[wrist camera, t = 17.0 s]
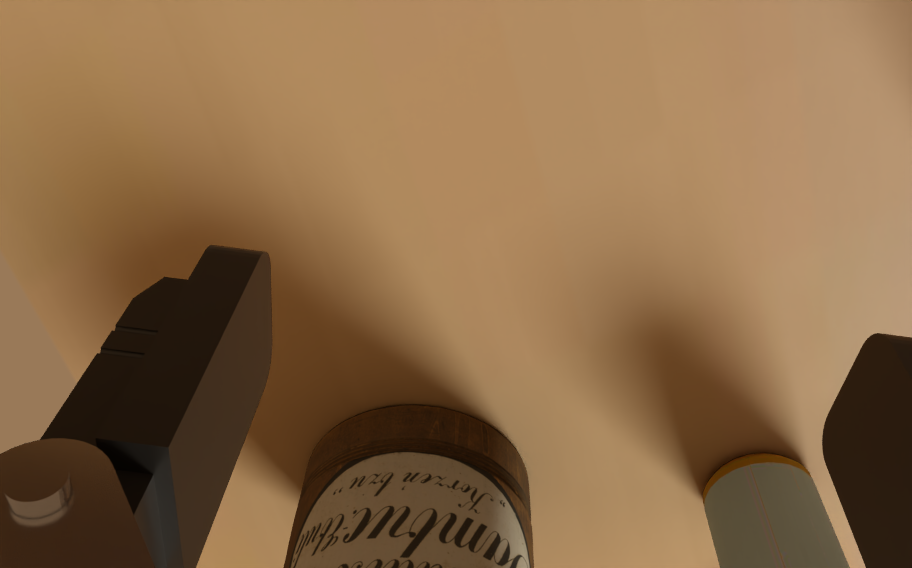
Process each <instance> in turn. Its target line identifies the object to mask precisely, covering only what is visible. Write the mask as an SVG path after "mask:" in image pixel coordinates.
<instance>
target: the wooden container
mask: <svg viewBox="0 0 912 568" xmlns="http://www.w3.org/2000/svg"><path fill="white" fill-rule="evenodd" d="M284 568H534V560H533V538H532V526H531V511H530V495H529V483H528V476H527V471H526V468H525V466H524V463H523V461H522V459H521V457H520V455H519V454H518V452H517V451H516V449H515V448H514V447H513V446H512V445H511V443H510V442H509V441H508V440H507V439H506V438H505V437H503V436H502V435H501V434H500V433H499V432H497V431H496V430H495V429H493V428H492V427H490V426H489V425H487V424H485V423H483V422H481V421H479V420H477V419H475V418H473V417H470V416H468V415H465V414H463V413H460V412H457V411H453V410H448V409H444V408H440V407H431V406H421V405H400V406H393V407H386V408H380V409H376V410H372V411H368V412H365V413H362V414H360V415H357V416H355V417H352V418H350V419H348V420H346V421H344V422H343V423H341V424H339V425H338V426H336V427H335V428H334V429H332V430H331V431H330V432H329V433H328V434H327V435H326V436H325V437H324V438H323V439H322V440H321V441H320V442H319V443H318V445H317V446H316V448H315V449H314V451H313V453H312V455H311V457H310V460H309V463H308V467H307V471H306V474H305V479H304V483H303V487H302V491H301V495H300V500H299V504H298V508H297V511H296V515H295V519H294V523H293V527H292V532H291V536H290V540H289V545H288V550H287V555H286V560H285V564H284Z"/></svg>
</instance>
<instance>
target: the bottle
mask: <svg viewBox="0 0 912 568" xmlns="http://www.w3.org/2000/svg"><path fill="white" fill-rule="evenodd" d="M703 503H704V507H705V513H706V516H707V520H708V524H709V528H710V531H711V535H712V539H713V542H714V546H715V550H716V554H717V557H718V561H719V565H720V568H850V567H849V565H848V563H847V560H846V558H845V555H844V553H843V551H842V548H841V546H840V543H839V541H838V539H837V536H836V534H835V531H834V529H833V527H832V524H831V522H830V519H829V517H828V515H827V512H826V510H825V507H824V505H823V503H822V500H821V498H820V495H819V493H818V491H817V488H816V486H815V483H814V481H813V479H812V478H811V475H810V473H809V471H808V470H807V469H806V468H805V467H803V466H802V465H801V464H800V463H798V462H796V461H794V460H791V459H789V458H786V457H783V456H780V455H776V454H768V453H759V454H749V455H745V456H742V457H739V458H736V459H733V460H732V461H730V462H728V463H726V464H725V465H723V466H722V467H721V468H720V469H719V470H718V471H717V472H716V473H715V474H714V475H713V476H712V477H711V478H710V480H709V481H708V482H707V485H706V487H705V489H704V492H703Z"/></svg>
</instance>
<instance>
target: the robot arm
mask: <svg viewBox="0 0 912 568" xmlns="http://www.w3.org/2000/svg"><path fill="white" fill-rule="evenodd" d="M271 355H272V308H271V267H270V258H269V255H268V253H267V252H262V251H254V250H247V249H239V248H231V247H224V246H216V245H210V246H209V247H208V248H207V249H206V250H205V252H204V254H203V255H202V257H201V259H200V260H199V262H198V264H197V265H196V267H195V269H194V271H193V272H192V274H191V276H190V277H189V279H188V280H184V279H177V278H169V277H164V278H162V279H161V280H160V281H158V282H157V283H155V284H154V285H152V286H151V287H149V288H148V289H146V290H145V291H143V292H142V293H140V294H139V295H137V296H136V297H135V298H133V300H132V301H131V303H130V304H129V306H128V307H127V309H126V310H125V312H124V313H123V315H122V316H121V318H120V319H119V321H118V322H117V324H116V328H115V331H111V333H110V335H109V336H108V338H107V339H106V341H105V342H104V344H103V345H102V347H101V352H100V354H98V353H97V354H96V356H95V357H94V359H93V360H92V362H91V363H90V365H89V366H88V368H87V369H86V371H85V372H84V374H83V375H82V377H81V378H80V380H79V381H78V383H77V385H76V386H75V388H74V389H73V391H72V392H71V394H70V395H69V397H68V398H67V400H66V401H65V403H64V404H63V406H62V407H61V409H60V410H59V412H58V413H57V415H56V416H55V418H54V420H53V421H52V422H51V424H50V425H49V427H48V428H47V430H46V432H45V433H44V435H43V436H42V437H41V439H40V440H37V441H33V442H29V443H25V444H22V445H19V446H17V447H14V448H11V449H9V450H7V451H5V452H3V453H1V454H0V568H196V566H197V563H198V561H199V558H200V555H201V553H202V550H203V547H204V545H205V542H206V540H207V537H208V534H209V532H210V529H211V527H212V524H213V521H214V519H215V516H216V514H217V511H218V508H219V506H220V503H221V501H222V498H223V495H224V493H225V490H226V488H227V485H228V482H229V480H230V477H231V474H232V472H233V469H234V467H235V464H236V461H237V459H238V456H239V454H240V451H241V448H242V446H243V443H244V441H245V438H246V435H247V433H248V430H249V428H250V425H251V422H252V420H253V417H254V414H255V412H256V409H257V407H258V404H259V401H260V399H261V396H262V394H263V391H264V388H265V385H266V382H267V378H268V374H269V369H270V363H271ZM822 446H823V455H824V460H825V463H826V466H827V468H828V471H829V474H830V476H831V479H832V481H833V484H834V486H835V489H836V492H837V494H838V497H839V499H840V502H841V504H842V507H843V510H844V512H845V515H846V517H847V520H848V522H849V525H850V528H851V530H852V533H853V535H854V538H855V540H856V543H857V546H858V548H859V551H860V553H861V556H862V558H863V561H864V564H865V566H866V568H912V338H911V337H903V336H896V335H888V334H880V333H876V334H873V335H871V336H870V337H869V338H868V339H867V340H866V341H865V343H864V344H863V346H862V348H861V350H860V352H859V354H858V356H857V358H856V360H855V362H854V364H853V366H852V368H851V370H850V372H849V374H848V376H847V378H846V380H845V382H844V384H843V386H842V387H841V389H840V391H839V393H838V395H837V397H836V399H835V401H834V403H833V405H832V407H831V409H830V411H829V413H828V416H827V418H826V421H825V425H824V429H823V439H822Z"/></svg>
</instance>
